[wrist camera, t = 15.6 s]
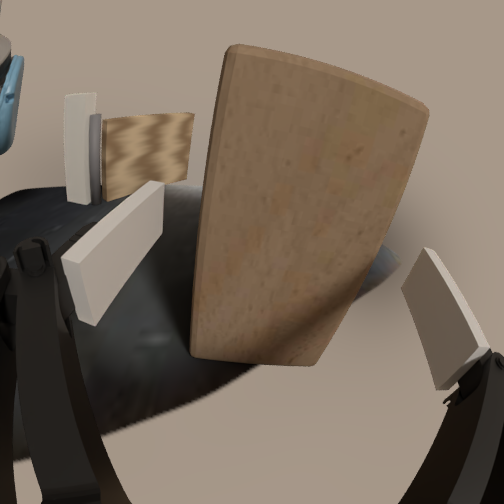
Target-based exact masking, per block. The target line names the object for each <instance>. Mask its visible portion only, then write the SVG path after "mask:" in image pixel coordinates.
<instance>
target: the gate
mask: <svg viewBox="0 0 504 504" xmlns="http://www.w3.org/2000/svg"><path fill="white" fill-rule="evenodd" d="M193 122H194V114H192V113H166V114H152V115H140V116H129V117H121V118H112V119H105V120H103V125H102V194H103V199H104V200H106V201H107V202H108V201H111V200H114V199H117V198H121V197H124V196H127V195H131V194H133V193H134V192H136V191H137V190H138V189H140V188H141V187H142V186H143V185H145V184H146V183H147V182H149V181H150V180H151V181H157V182H163V183H165V185H166V184H170V183H173V182H177V181H181V180H185V179H187V170H188V161H189V152H190V144H191V136H192V129H193Z"/></svg>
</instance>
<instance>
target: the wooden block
mask: <svg viewBox="0 0 504 504" xmlns="http://www.w3.org/2000/svg"><path fill="white" fill-rule="evenodd" d="M428 118H429V109H428V108H427V107H426V106H425V105H424V104H423V103H422V102H420V101H418V100H416V99H414V98H412V97H410V96H408V95H406V94H404V93H402V92H400V91H398V90H395V89H393V88H391V87H389V86H386V85H384V84H382V83H379V82H377V81H374V80H372V79H369V78H367V77H364V76H361V75H359V74H356V73H354V72H351V71H348V70H345V69H342V68H339V67H336V66H333V65H329V64H327V63H323V62H320V61H316V60H313V59H309V58H306V57H302V56H298V55H293V54H290V53H285V52H280V51H276V50H271V49H266V48H261V47H255V46H249V45H243V44H236V45H232V46H230V47H229V48H228V49H227V51H226V52H225V55H224V60H223V65H222V70H221V75H220V81H219V86H218V92H217V97H216V102H215V108H214V114H213V120H212V126H211V133H210V139H209V146H208V153H207V160H206V167H205V175H204V182H203V190H202V198H201V207H200V216H199V225H198V235H197V245H196V256H195V267H194V280H193V294H192V309H191V327H190V349H189V351H190V354H191V356H193V357H195V358H201V359H209V360H217V361H227V362H237V363H249V364H263V365H283V366H313V365H315V364H316V363H317V361H318V360H319V358H320V356H321V355H322V353H323V352H324V350H325V348H326V347H327V345H328V344H329V342H330V340H331V339H332V337H333V335H334V334H335V332H336V330H337V328H338V327H339V325H340V323H341V321H342V320H343V318H344V316H345V315H346V313H347V311H348V309H349V307H350V306H351V304H352V302H353V300H354V298H355V296H356V294H357V293H358V291H359V289H360V287H361V285H362V283H363V281H364V279H365V277H366V275H367V273H368V271H369V269H370V267H371V265H372V263H373V261H374V259H375V257H376V255H377V253H378V251H379V248H380V246H381V244H382V242H383V240H384V238H385V235H386V233H387V231H388V229H389V226H390V224H391V222H392V219H393V216H394V215H395V212H396V210H397V207H398V205H399V202H400V200H401V198H402V195H403V192H404V190H405V187H406V185H407V182H408V179H409V176H410V174H411V171H412V168H413V165H414V163H415V160H416V157H417V154H418V151H419V148H420V144H421V141H422V138H423V135H424V131H425V129H426V125H427V122H428Z"/></svg>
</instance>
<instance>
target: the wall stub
mask: <svg viewBox="0 0 504 504" xmlns="http://www.w3.org/2000/svg"><path fill="white" fill-rule="evenodd" d="M96 95H97V93H96V92H94V93H76V94H70V95H65V107H64V160H65V161H64V162H65V178H66V190H67V200H68V201H70V202H74V203H79V204H84V205H87V204H89V203H90V202H91V204H92V205H99V204H101V183H100V131H101V114H95V108H96Z"/></svg>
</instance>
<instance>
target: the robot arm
mask: <svg viewBox="0 0 504 504" xmlns="http://www.w3.org/2000/svg"><path fill="white" fill-rule="evenodd" d="M1 3H2V0H0V9H1ZM0 11H1V10H0ZM23 70H24V57H23V56H16V55H15V56H13V57H11V42H10V40H9V39H8V38H7V37H5V36H3V35H1V34H0V155H2V154H4V153H5V152H6V151H7V150H8V149H9V148H10V147H11V145H12V143H13V140H14V135H15V128H16V121H17V114H18V106H19V99H20V91H21V84H22V77H23ZM164 186H165V183H163V182H157V181H151V180H150V181H149V182H147V183H146V184H145V185H143V186H142V187H141V188H140V189H138V190H137V191H136V192H134V193H133V194H132V195H131V196H129V197H128V198H127V199H126V200H124V201H123V202H122V203H121V204H119V205H118V206H117V207H116V208H115V209H113V210H112V211H111V212H110V213H109V214H108V215H106V216H105V217H104V218H103V219H102V220H101V221H99V222H98V223H97V222H92V223H90V224H88V225H86V226H84V227H82V228H81V229H80V230H79V231H78V232H76V233H75V235H73V236H72V237H71V238H70V239H69V241H66V242H65V243H64V244H63V245H62V246H61V247H60V248H59V249H58V250H57V251H56V252H55V253H54V254H52V255H51V252H50V248H49V244H48V240H46V239H45V238H43V237H31V238H28V239H25V240H24V241H22V242H20V243H19V244H18V245H17V246H16V247H15V249H14V251H13V254H14V257H15V260H16V264H17V267H18V269H12V268H9V266H8V263H7V260H6V258H5V257H3V256H0V504H17V499H16V491H15V482H14V470H13V445H12V437H13V411H14V398H15V389H16V381H18V391H19V399H20V407H21V413H22V419H23V425H24V430H25V435H26V440H27V444H28V448H29V453H30V456H31V460H32V464H33V467H34V471H35V474H36V477H37V480H38V483H39V486H40V489H41V492H42V502H41V504H132V503H131V502H130V501H129V499H128V497H127V495H126V493H125V491H124V490H123V488H122V486H121V483H120V481H119V479H118V477H117V475H116V473H115V471H114V468H113V466H112V464H111V461H110V459H109V457H108V454H107V452H106V449H105V447H104V444H103V441H102V439H101V436H100V433H99V430H98V428H97V425H96V422H95V419H94V416H93V412H92V409H91V406H90V403H89V399H88V396H87V392H86V388H85V385H84V381H83V377H82V372H81V368H80V364H79V359H78V354H77V349H76V344H75V339H74V333H73V327H72V321H71V318H70V314H71V313H72V312H73V310H74V309H75V310H76V313H77V316H78V319H79V320H81V321H83V322H86V323H88V324H91V325H93V326H96V325H97V323H98V322H99V320H100V319H101V317H102V316H103V314H104V313H105V311H106V310H107V308H108V307H109V305H110V304H111V302H112V301H113V299H114V298H115V297H116V295H117V294H118V292H119V291H120V289H121V288H122V287H123V285H124V284H125V282H126V281H127V280H128V278H129V277H130V275H131V274H132V273H133V271H134V270H135V269H136V267H137V266H138V264H139V263H140V262H141V260H142V259H143V258H144V256H145V255H146V254H147V252H148V251H149V250H150V248H151V247H152V246H153V245H154V243H155V242H156V241H157V239H158V238H159V237H160V236H161V234H162V232H163V204H164ZM401 289H402V292H403V294H404V297H405V299H406V302H407V304H408V307H409V309H410V312H411V315H412V317H413V320H414V323H415V325H416V328H417V331H418V334H419V336H420V339H421V342H422V345H423V348H424V351H425V354H426V357H427V361H428V364H429V367H430V370H431V374H432V377H433V381H434V384H435V388H436V390H449V389H450V388H451V387H452V386H453V385H454V384H455V383H456V382H457V381H458V384H459V388H458V389H456V390H455V391H454V392H453V393H452V394H451V395H450V396H449V397H447V398H446V399H445V400H444V402H443V404H445V403H446V402H447V401H449V400H450V401H451V402H450V403H449V404H448V405H447V407H448V410H447V412H446V415H445V417H444V420H443V422H442V425H441V427H440V429H439V431H438V433H437V436H436V438H435V440H434V442H433V444H432V446H431V448H430V451H429V453H428V454H427V456H426V458H425V460H424V462H423V464H422V466H421V468H420V469H419V471H418V473H417V474H416V476H415V478H414V480H413V481H412V483H411V485H410V486H409V488H408V490H407V491H406V493H405V494H404V496H403V497H402V499H401V501H400V502H399V503H398V504H504V357H503V356H502V355H501V354H500V353H497V352H494V353H492V351H491V349H490V346H489V344H488V342H487V340H486V338H485V336H484V334H483V332H482V330H481V328H480V326H479V324H478V322H477V320H476V318H475V316H474V314H473V313H472V311H471V309H470V307H469V305H468V304H467V302H466V300H465V298H464V297H463V295H462V293H461V291H460V290H459V288H458V286H457V285H456V283H455V282H454V280H453V278H452V277H451V275H450V274H449V272H448V271H447V269H446V268H445V266H444V264H443V263H442V261H441V260H440V258H439V257H438V255H437V254H436V252H435V251H434V250H431V249H428V248H425V247H423V249H422V251H421V253H420V255H419V257H418V259H417V261H416V263H415V264H414V266H413V268H412V270H411V272H410V274H409V275H408V277H407V279H406V280H405V282H404V284H403V286H402V287H401Z"/></svg>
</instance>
